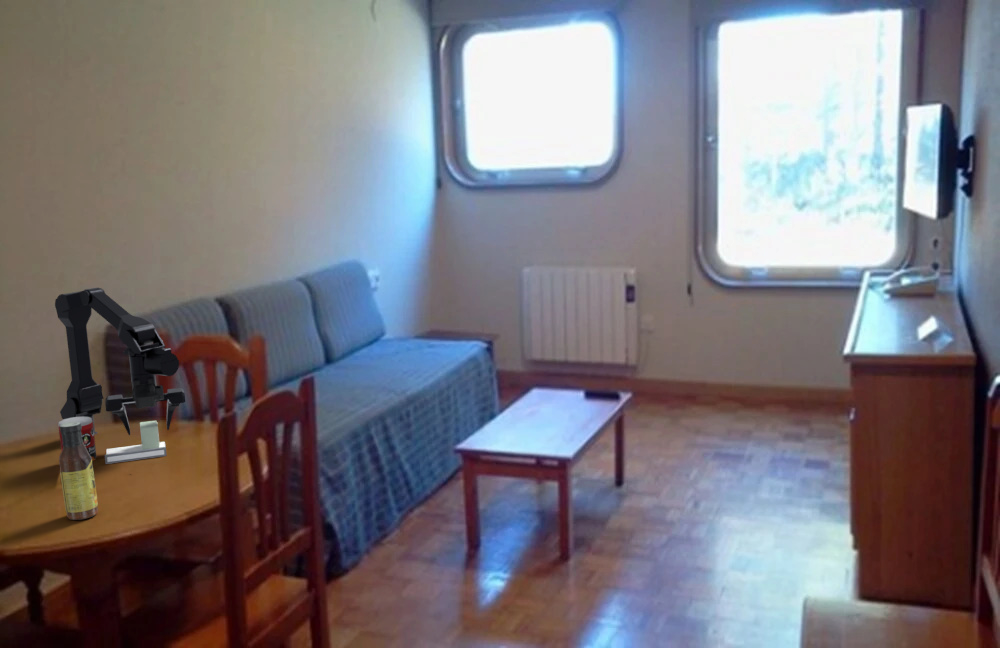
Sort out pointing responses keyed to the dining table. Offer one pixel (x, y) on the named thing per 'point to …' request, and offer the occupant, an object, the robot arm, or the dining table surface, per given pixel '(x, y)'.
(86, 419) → the canned food
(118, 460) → the shelf
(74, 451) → the sauce bottle
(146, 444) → the carton
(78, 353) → the robot arm
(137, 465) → the dining table surface
